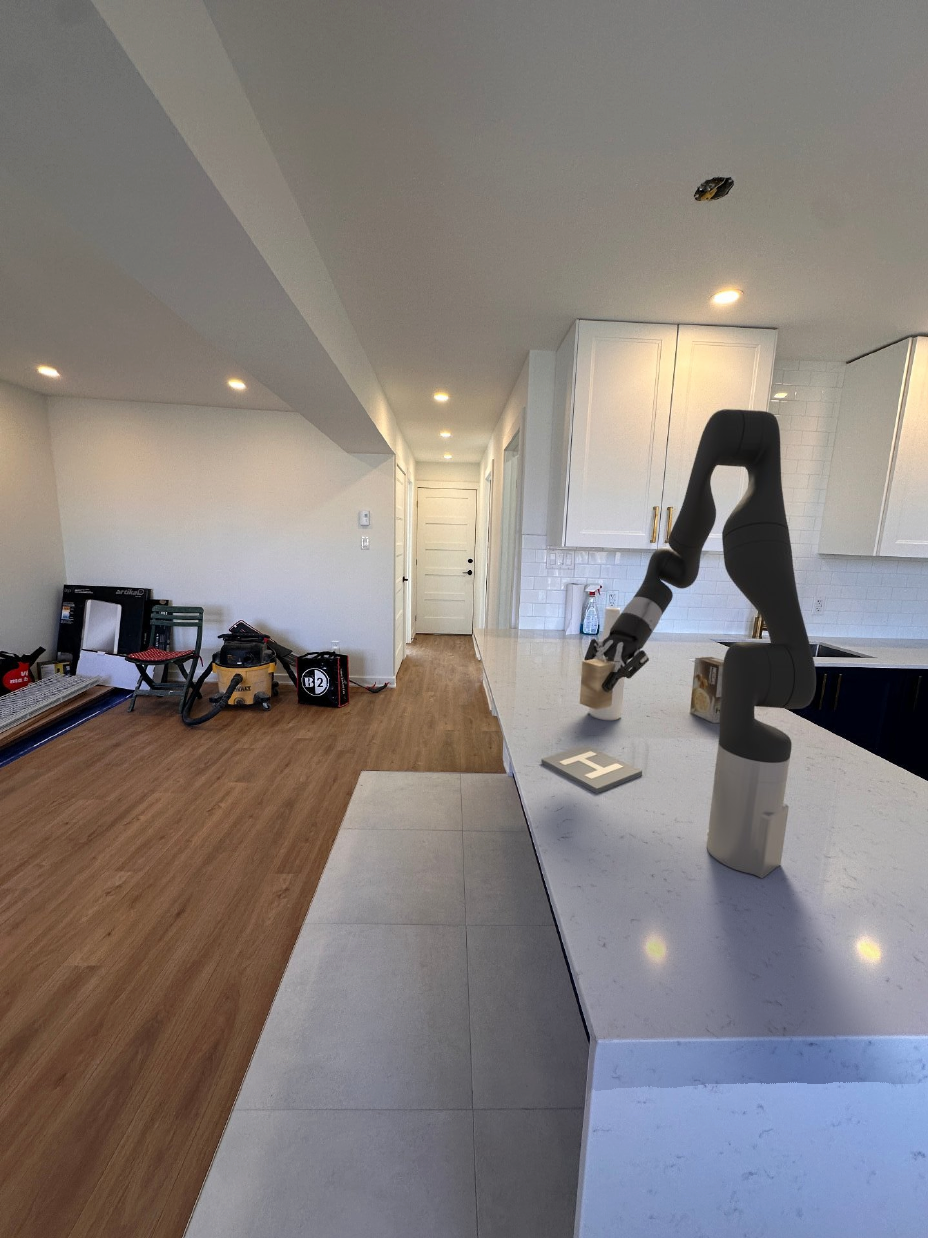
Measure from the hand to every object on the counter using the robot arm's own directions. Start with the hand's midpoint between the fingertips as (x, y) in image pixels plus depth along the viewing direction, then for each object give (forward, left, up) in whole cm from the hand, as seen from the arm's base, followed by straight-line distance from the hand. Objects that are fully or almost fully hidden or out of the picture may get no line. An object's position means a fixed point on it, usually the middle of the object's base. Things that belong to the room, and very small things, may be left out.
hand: (594, 686), depth 100 cm
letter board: (0, -1, -18) cm, 18 cm away
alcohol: (+20, -30, -18) cm, 40 cm away
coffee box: (+4, -55, -18) cm, 58 cm away
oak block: (0, -1, -4) cm, 4 cm away
